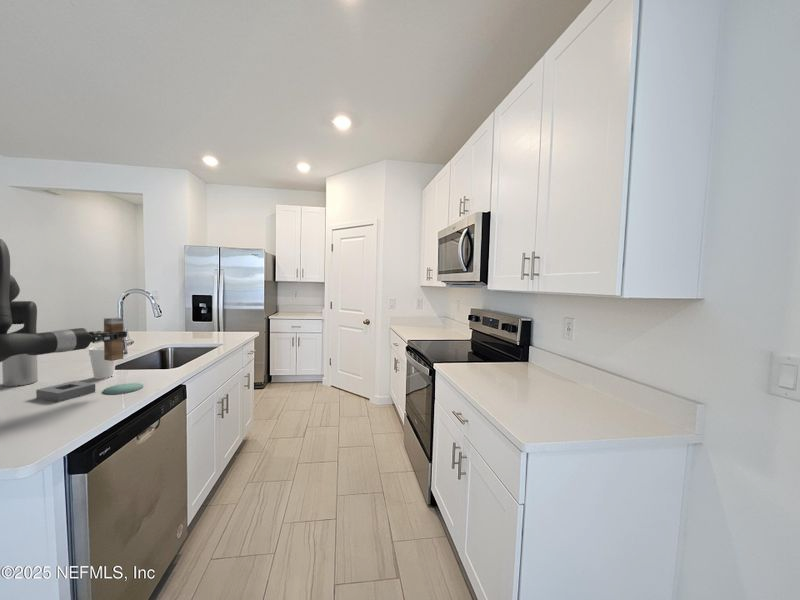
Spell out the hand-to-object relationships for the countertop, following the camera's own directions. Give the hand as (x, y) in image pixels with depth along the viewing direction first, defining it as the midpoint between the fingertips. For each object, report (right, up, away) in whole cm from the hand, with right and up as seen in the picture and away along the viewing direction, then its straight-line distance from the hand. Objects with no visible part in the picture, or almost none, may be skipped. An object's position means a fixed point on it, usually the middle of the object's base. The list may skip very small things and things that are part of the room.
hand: (121, 333), depth 128 cm
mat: (+1, -22, 0) cm, 22 cm away
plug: (-1, -10, -2) cm, 10 cm away
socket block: (-14, -22, -7) cm, 27 cm away
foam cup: (-20, -21, +15) cm, 33 cm away
